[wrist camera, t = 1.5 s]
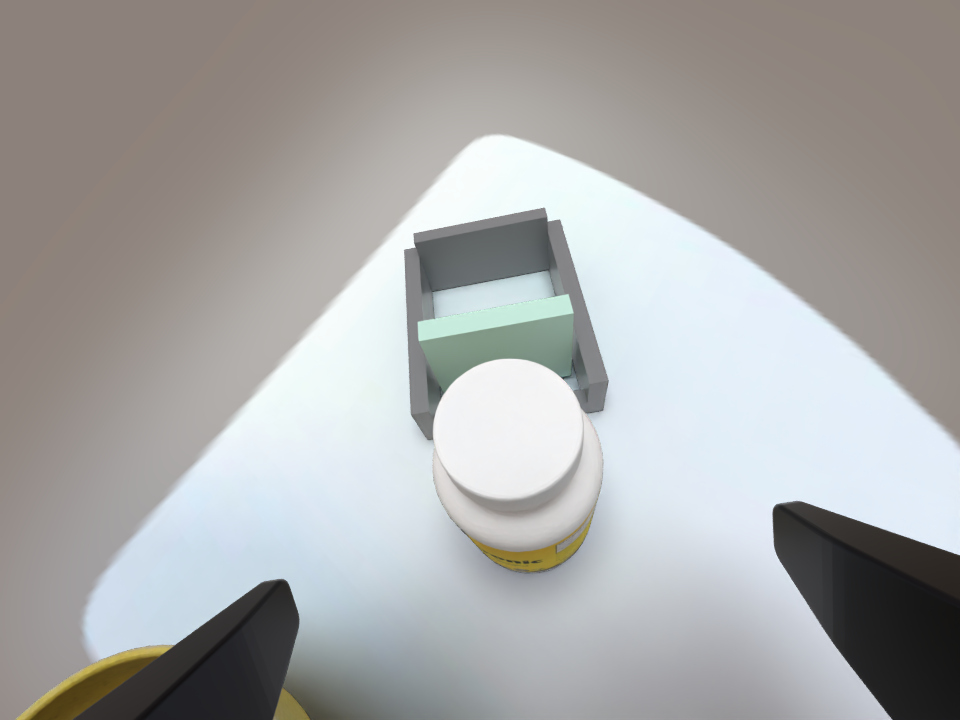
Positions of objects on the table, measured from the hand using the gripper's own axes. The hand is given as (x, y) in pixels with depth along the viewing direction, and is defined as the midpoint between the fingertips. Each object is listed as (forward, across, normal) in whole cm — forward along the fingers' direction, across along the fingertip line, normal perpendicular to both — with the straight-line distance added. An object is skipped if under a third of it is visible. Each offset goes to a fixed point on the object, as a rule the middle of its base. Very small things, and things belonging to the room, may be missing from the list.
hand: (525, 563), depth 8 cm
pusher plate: (+15, 0, +1) cm, 15 cm away
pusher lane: (+17, 0, -1) cm, 17 cm away
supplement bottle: (+11, 0, +6) cm, 13 cm away
